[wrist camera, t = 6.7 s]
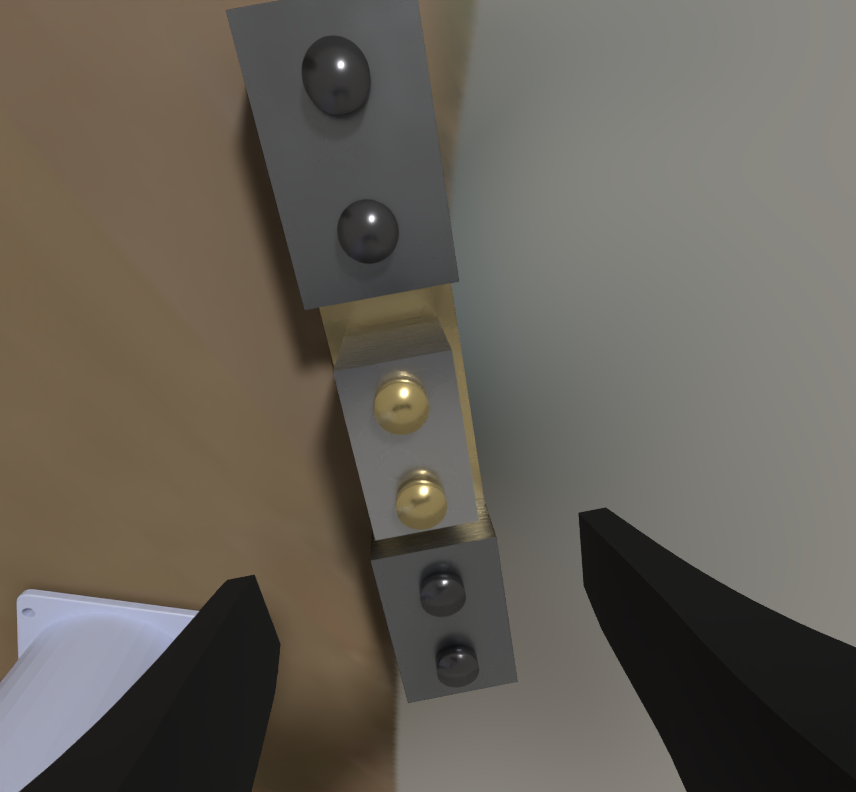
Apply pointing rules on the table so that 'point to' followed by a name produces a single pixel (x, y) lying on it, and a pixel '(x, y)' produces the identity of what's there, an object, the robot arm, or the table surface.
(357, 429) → the block with brass knobs
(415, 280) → the studded link strip
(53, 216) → the table surface
